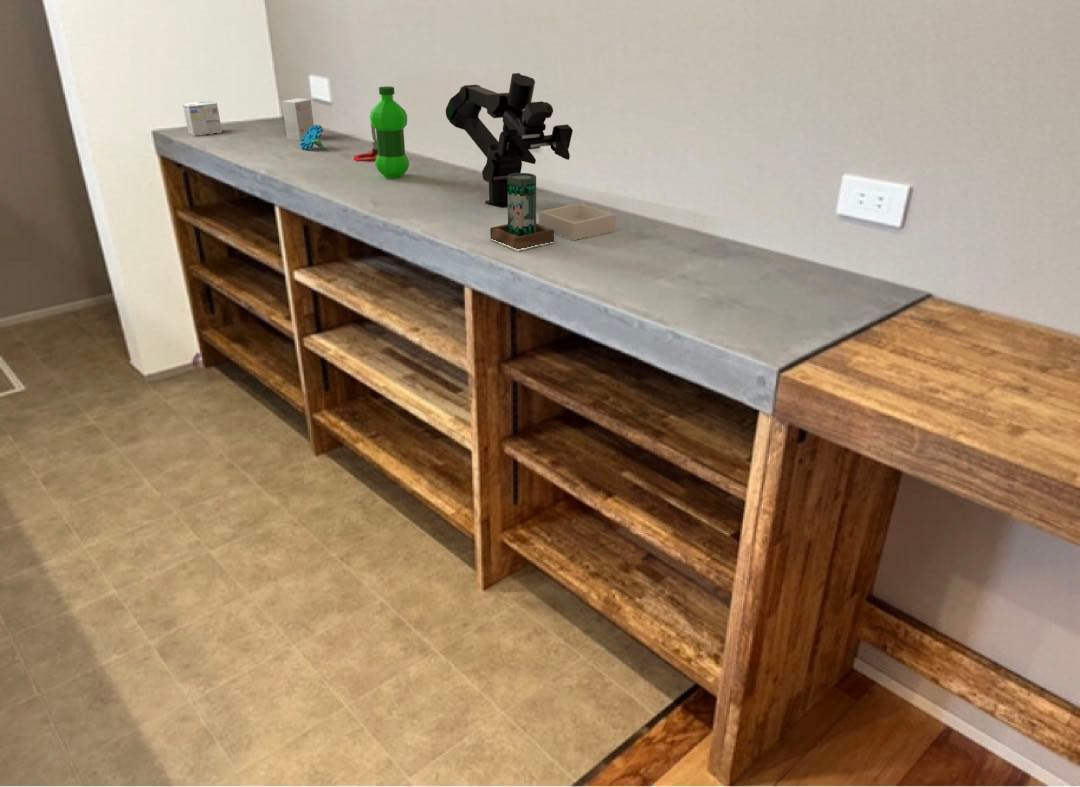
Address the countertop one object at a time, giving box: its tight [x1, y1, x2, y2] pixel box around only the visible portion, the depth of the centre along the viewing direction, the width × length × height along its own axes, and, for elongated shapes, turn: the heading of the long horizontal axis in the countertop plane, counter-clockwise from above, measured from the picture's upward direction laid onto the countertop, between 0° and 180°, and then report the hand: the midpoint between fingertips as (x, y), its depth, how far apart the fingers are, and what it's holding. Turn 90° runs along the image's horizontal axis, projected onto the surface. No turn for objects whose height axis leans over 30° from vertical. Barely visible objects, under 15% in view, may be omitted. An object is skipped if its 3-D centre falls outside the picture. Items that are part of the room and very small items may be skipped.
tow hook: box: [353, 123, 378, 162], centre depth 265 cm, size 8×13×9 cm
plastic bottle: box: [369, 85, 410, 179], centre depth 241 cm, size 10×10×25 cm
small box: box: [281, 97, 315, 142], centre depth 295 cm, size 8×6×13 cm
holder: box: [489, 223, 555, 249], centre depth 190 cm, size 10×10×3 cm
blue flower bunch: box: [299, 124, 327, 151], centre depth 281 cm, size 11×6×10 cm
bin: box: [538, 202, 617, 241], centre depth 198 cm, size 13×13×4 cm
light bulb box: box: [182, 100, 223, 137], centre depth 302 cm, size 11×7×11 cm, turn 130°
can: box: [507, 172, 537, 236], centre depth 187 cm, size 6×6×15 cm
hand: (552, 160), depth 193 cm, fingers open, 9 cm apart
